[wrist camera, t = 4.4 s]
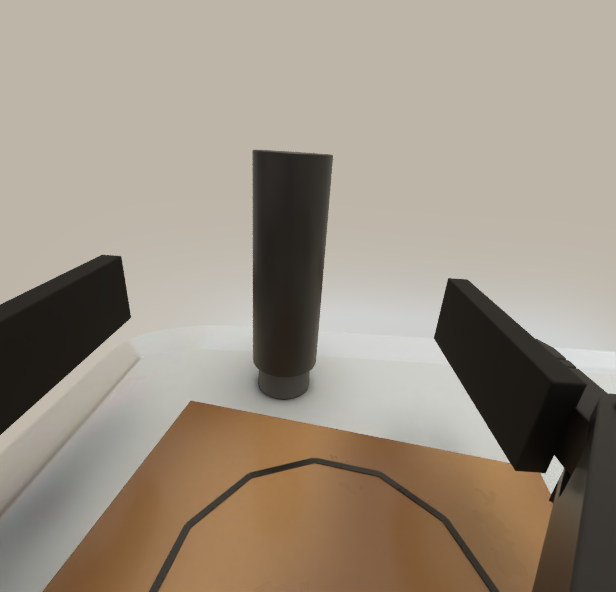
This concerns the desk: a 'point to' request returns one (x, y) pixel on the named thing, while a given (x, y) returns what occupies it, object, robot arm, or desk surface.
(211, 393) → the desk surface
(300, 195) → the dot marker
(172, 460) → the paper sheet
